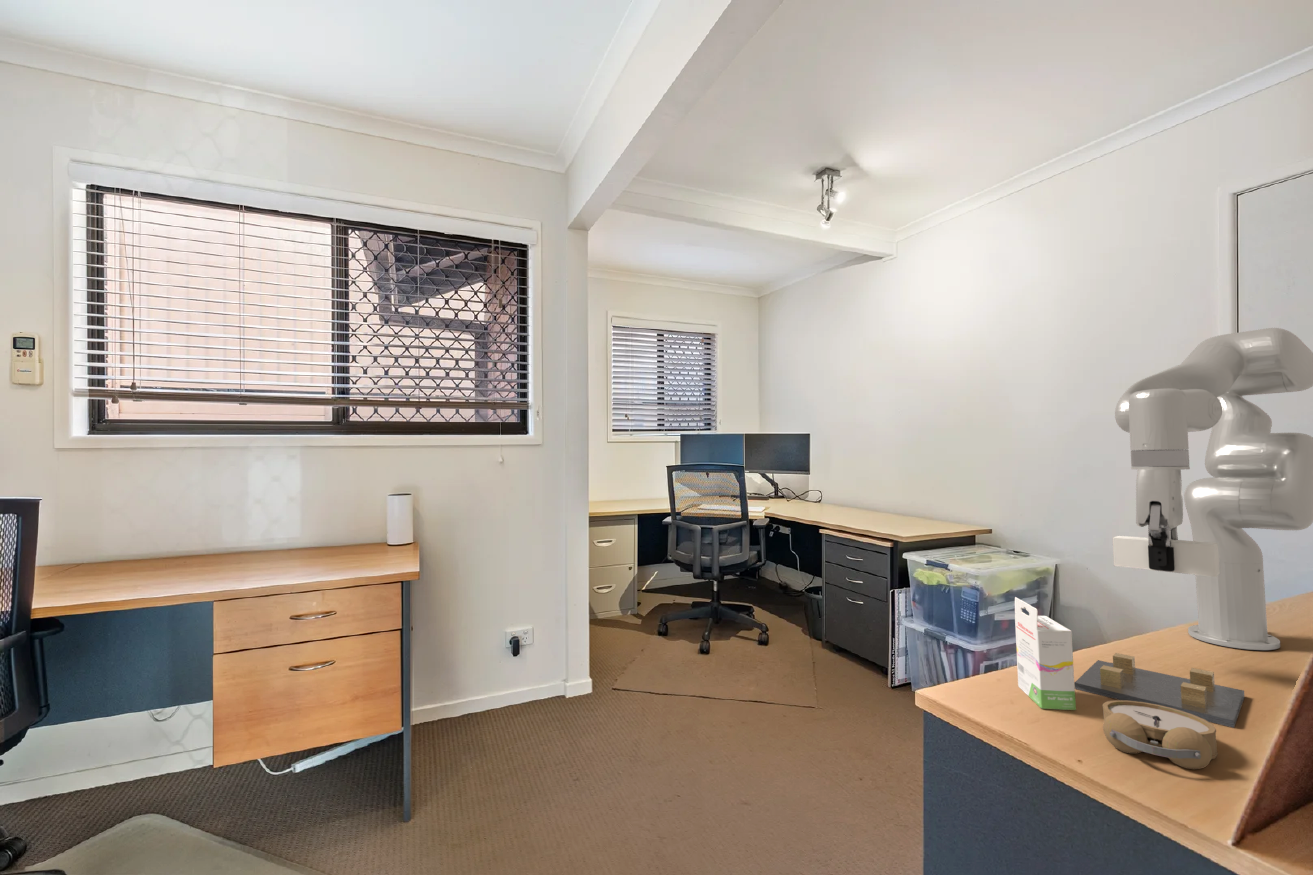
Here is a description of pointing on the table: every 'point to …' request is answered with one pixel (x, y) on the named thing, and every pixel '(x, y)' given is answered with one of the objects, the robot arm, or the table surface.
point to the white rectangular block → (1186, 555)
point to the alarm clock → (1160, 732)
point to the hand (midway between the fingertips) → (1164, 567)
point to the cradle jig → (1164, 689)
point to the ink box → (1044, 659)
